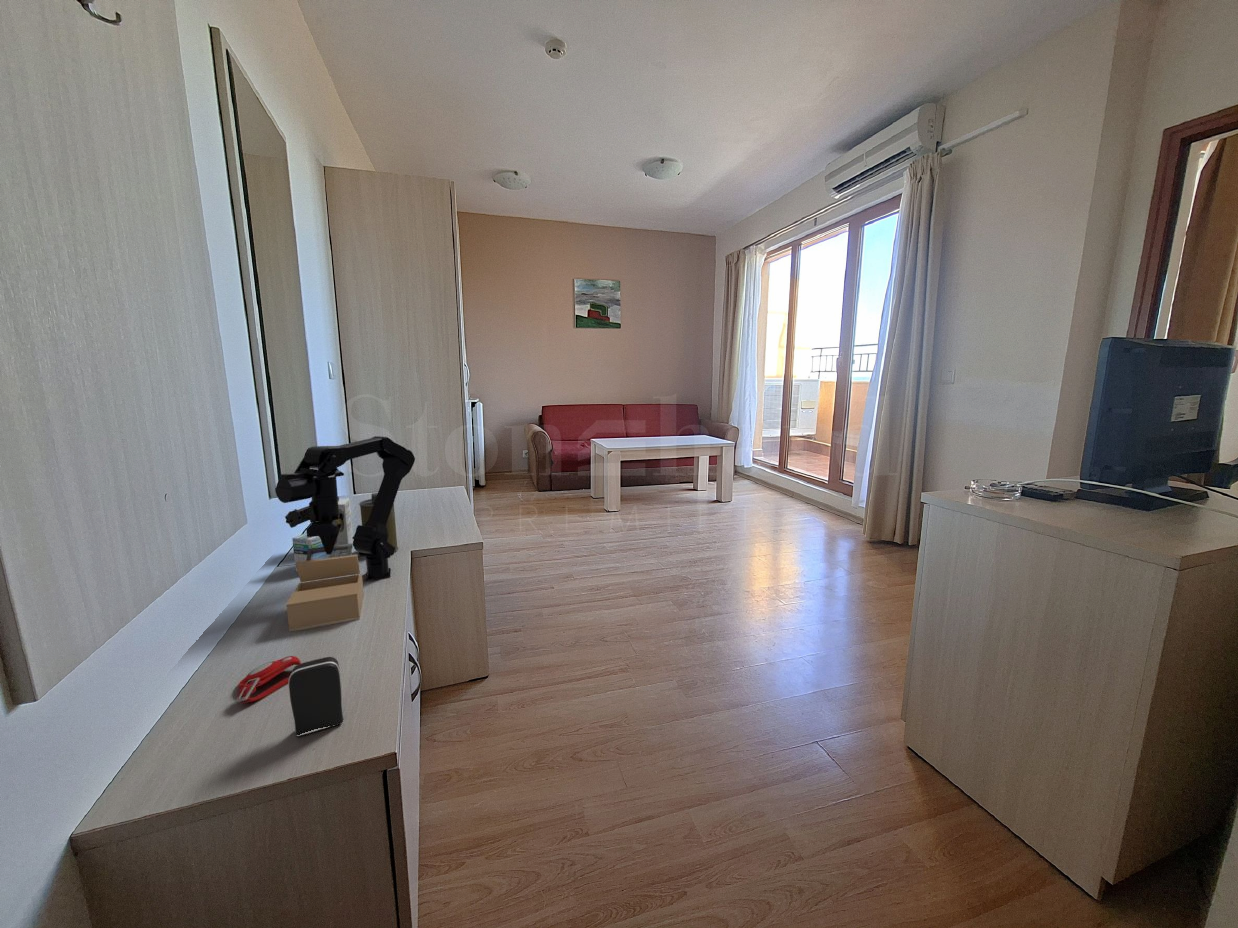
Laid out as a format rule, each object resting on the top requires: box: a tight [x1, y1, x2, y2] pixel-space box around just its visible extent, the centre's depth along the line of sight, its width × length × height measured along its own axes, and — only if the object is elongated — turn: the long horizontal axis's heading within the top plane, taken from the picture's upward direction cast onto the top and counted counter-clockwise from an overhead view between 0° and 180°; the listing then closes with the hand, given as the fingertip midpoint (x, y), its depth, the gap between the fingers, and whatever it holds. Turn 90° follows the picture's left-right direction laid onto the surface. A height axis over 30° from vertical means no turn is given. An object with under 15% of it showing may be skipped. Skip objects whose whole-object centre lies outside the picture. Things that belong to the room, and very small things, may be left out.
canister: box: [358, 492, 399, 553], centre depth 155 cm, size 11×10×20 cm
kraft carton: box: [285, 573, 365, 633], centre depth 114 cm, size 14×14×7 cm
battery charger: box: [287, 656, 345, 736], centre depth 76 cm, size 7×4×11 cm, turn 120°
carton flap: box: [296, 544, 361, 583], centre depth 121 cm, size 6×13×7 cm
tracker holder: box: [234, 655, 301, 703], centre depth 87 cm, size 12×4×10 cm
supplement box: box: [316, 497, 354, 554], centre depth 156 cm, size 10×9×17 cm
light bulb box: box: [291, 532, 341, 573], centre depth 142 cm, size 11×7×11 cm, turn 169°
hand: (329, 554), depth 121 cm, fingers closed
